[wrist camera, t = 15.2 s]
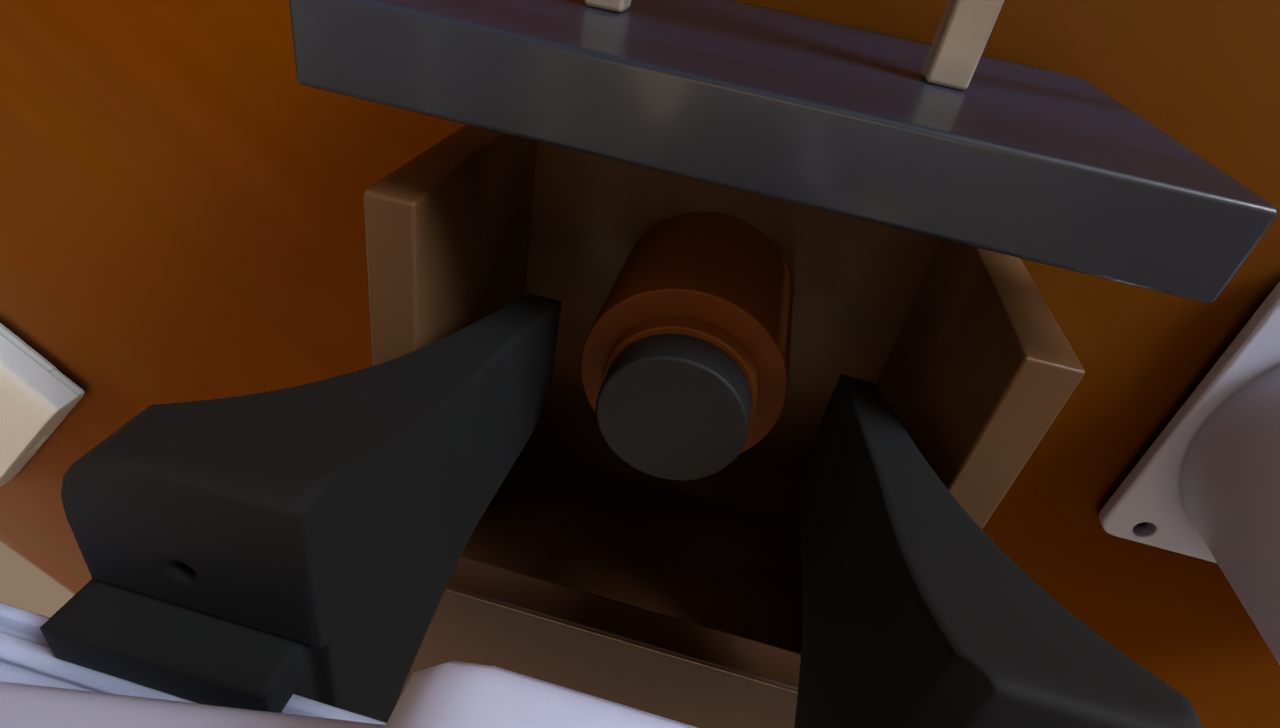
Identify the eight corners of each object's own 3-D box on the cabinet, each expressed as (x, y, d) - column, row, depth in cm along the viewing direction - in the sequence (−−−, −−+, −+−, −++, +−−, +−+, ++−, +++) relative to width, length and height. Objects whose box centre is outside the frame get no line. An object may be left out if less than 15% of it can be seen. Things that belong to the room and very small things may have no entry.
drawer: (512, -382, 11) (217, -658, 6) (1248, -245, 10) (1743, -410, 5) (474, 428, 21) (351, 619, 15) (854, 532, 20) (868, 774, 15)
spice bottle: (816, 236, 15) (816, 360, 11) (766, 382, 17) (751, 530, 13) (638, 192, 15) (573, 297, 11) (611, 341, 17) (549, 474, 13)
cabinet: (470, 313, 20) (281, 540, 13) (917, 430, 19) (977, 744, 12) (459, 609, 28) (337, 852, 21) (776, 702, 27) (762, 989, 20)
